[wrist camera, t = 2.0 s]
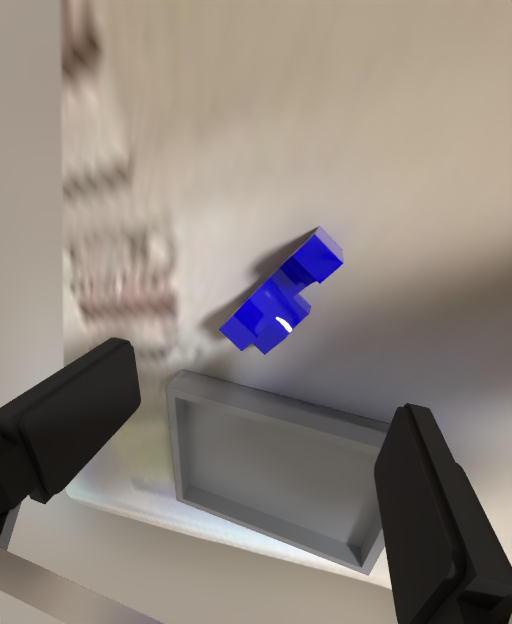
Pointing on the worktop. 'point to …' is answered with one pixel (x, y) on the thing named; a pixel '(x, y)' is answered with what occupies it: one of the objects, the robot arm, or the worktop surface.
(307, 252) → the cable holder
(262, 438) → the tray
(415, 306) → the worktop surface
